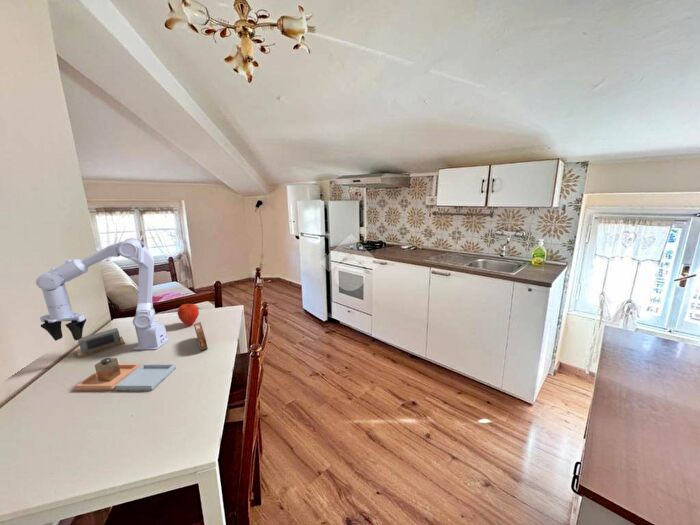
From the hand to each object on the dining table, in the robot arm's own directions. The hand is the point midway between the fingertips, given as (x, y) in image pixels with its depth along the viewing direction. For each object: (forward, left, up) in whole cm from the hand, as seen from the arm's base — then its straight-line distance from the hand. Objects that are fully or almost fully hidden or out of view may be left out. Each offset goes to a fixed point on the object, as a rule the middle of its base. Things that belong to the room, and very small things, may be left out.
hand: (68, 339), depth 101 cm
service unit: (-1, -10, -9) cm, 14 cm away
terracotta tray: (-23, +10, -9) cm, 27 cm away
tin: (-42, -12, -10) cm, 45 cm away
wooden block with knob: (-23, +10, -9) cm, 27 cm away
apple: (-26, -30, -10) cm, 41 cm away
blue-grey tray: (-36, +10, -9) cm, 39 cm away
